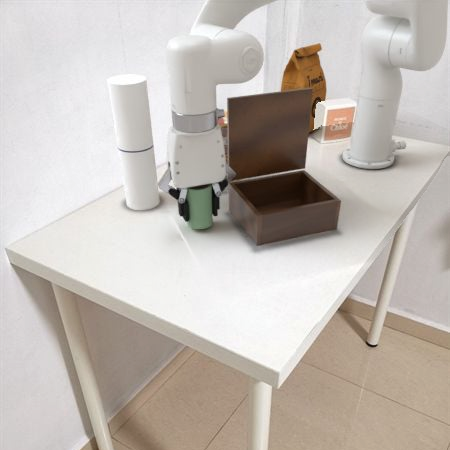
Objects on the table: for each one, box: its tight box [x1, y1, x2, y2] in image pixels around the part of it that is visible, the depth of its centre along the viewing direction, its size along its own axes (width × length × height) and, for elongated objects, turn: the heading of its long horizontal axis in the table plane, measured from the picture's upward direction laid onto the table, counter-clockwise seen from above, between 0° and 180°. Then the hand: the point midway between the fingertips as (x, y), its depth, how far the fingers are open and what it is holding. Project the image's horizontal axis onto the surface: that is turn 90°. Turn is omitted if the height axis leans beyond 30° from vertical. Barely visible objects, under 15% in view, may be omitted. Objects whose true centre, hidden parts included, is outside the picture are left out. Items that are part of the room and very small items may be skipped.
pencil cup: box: [186, 184, 214, 230], centre depth 89 cm, size 5×5×8 cm
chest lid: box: [226, 88, 313, 181], centre depth 92 cm, size 16×17×5 cm
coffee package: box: [280, 42, 328, 133], centre depth 129 cm, size 10×12×22 cm
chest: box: [228, 169, 342, 247], centre depth 93 cm, size 15×17×7 cm
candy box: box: [218, 109, 239, 190], centre depth 104 cm, size 9×4×15 cm, turn 8°
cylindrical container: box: [106, 73, 161, 211], centre depth 95 cm, size 7×7×25 cm
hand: (199, 214), depth 91 cm, fingers closed on pencil cup, 5 cm apart
